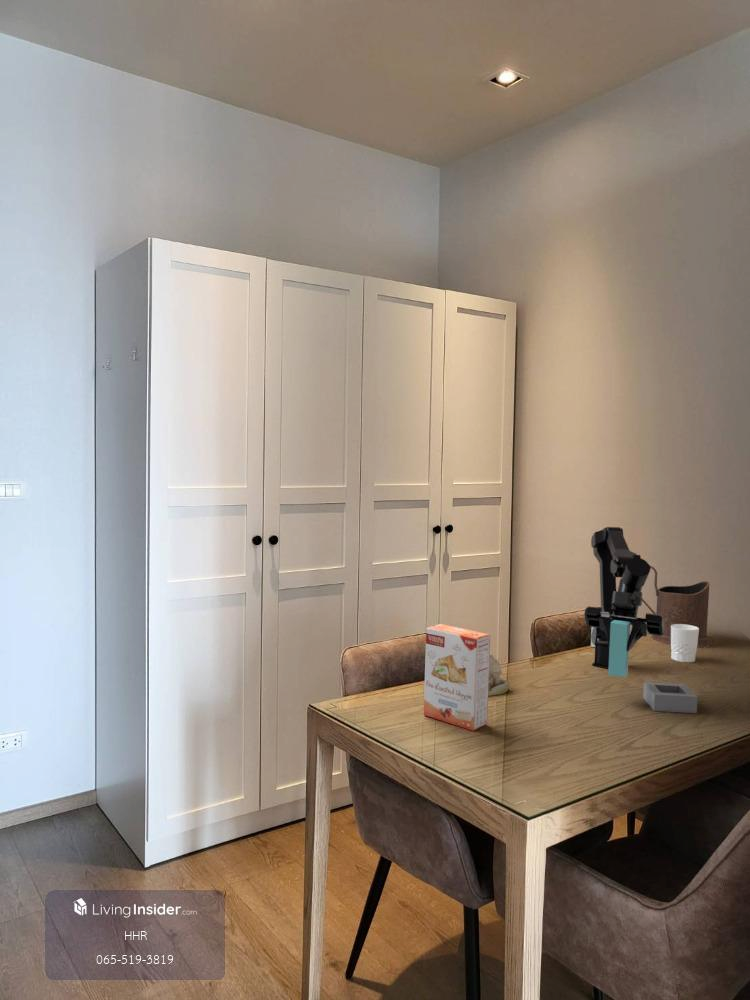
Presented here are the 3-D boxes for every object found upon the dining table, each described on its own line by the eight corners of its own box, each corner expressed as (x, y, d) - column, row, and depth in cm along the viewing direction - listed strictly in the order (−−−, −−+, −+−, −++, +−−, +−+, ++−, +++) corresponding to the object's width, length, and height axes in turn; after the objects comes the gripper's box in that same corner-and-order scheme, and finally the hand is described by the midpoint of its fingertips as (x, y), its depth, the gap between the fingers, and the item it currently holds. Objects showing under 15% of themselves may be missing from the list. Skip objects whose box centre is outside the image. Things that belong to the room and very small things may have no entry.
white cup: (663, 657, 234) (665, 625, 234) (682, 655, 238) (684, 623, 237) (683, 664, 227) (685, 630, 227) (703, 661, 230) (704, 628, 230)
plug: (608, 674, 190) (610, 622, 189) (611, 670, 193) (613, 619, 192) (625, 677, 188) (627, 625, 187) (627, 673, 191) (630, 621, 191)
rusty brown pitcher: (716, 650, 244) (720, 572, 243) (637, 644, 249) (641, 568, 248) (703, 637, 263) (707, 564, 261) (630, 631, 267) (633, 560, 266)
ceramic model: (465, 699, 190) (467, 659, 189) (445, 686, 200) (446, 648, 200) (514, 694, 195) (516, 655, 195) (492, 681, 206) (493, 644, 205)
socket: (653, 710, 185) (654, 694, 184) (643, 697, 195) (644, 682, 194) (696, 713, 184) (697, 696, 183) (684, 699, 194) (684, 684, 193)
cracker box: (422, 716, 177) (424, 626, 175) (437, 710, 181) (440, 622, 180) (472, 732, 167) (476, 637, 166) (488, 725, 172) (491, 633, 171)
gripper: (587, 575, 197) (575, 625, 188) (664, 582, 188) (656, 636, 179) (592, 600, 204) (581, 650, 195) (667, 608, 196) (659, 661, 187)
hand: (618, 649), depth 189 cm, fingers closed on plug, 4 cm apart
